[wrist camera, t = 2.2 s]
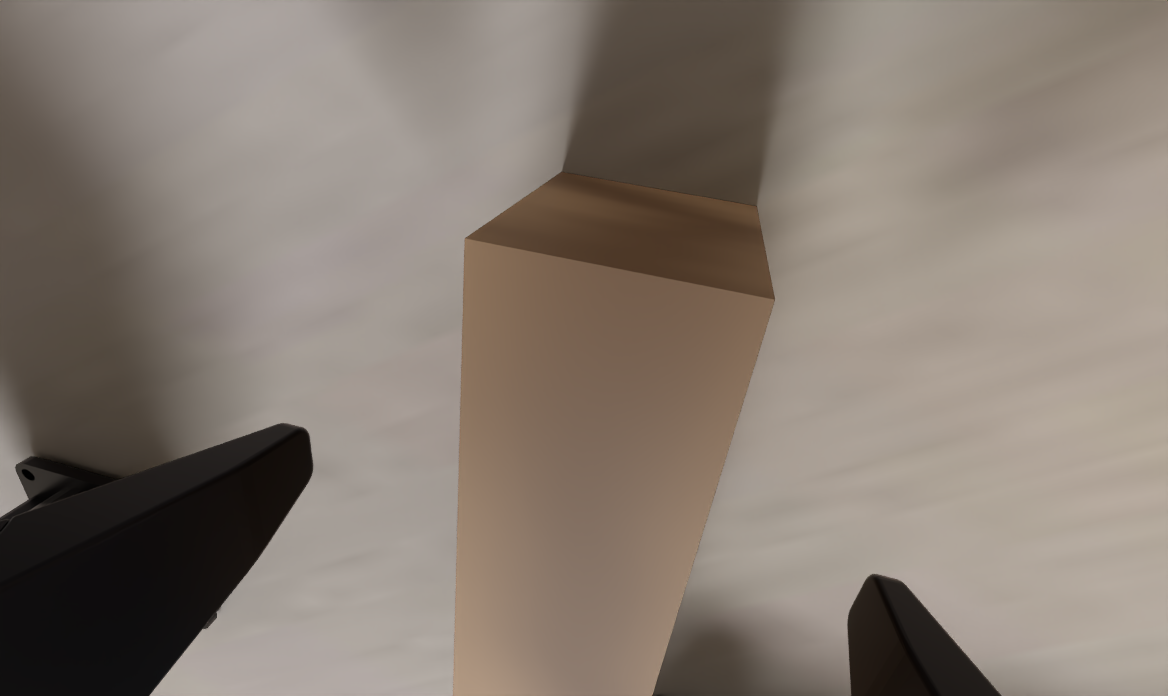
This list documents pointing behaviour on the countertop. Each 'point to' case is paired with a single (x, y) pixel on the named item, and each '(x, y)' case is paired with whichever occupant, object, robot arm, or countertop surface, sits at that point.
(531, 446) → the light brown long block
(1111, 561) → the countertop surface
